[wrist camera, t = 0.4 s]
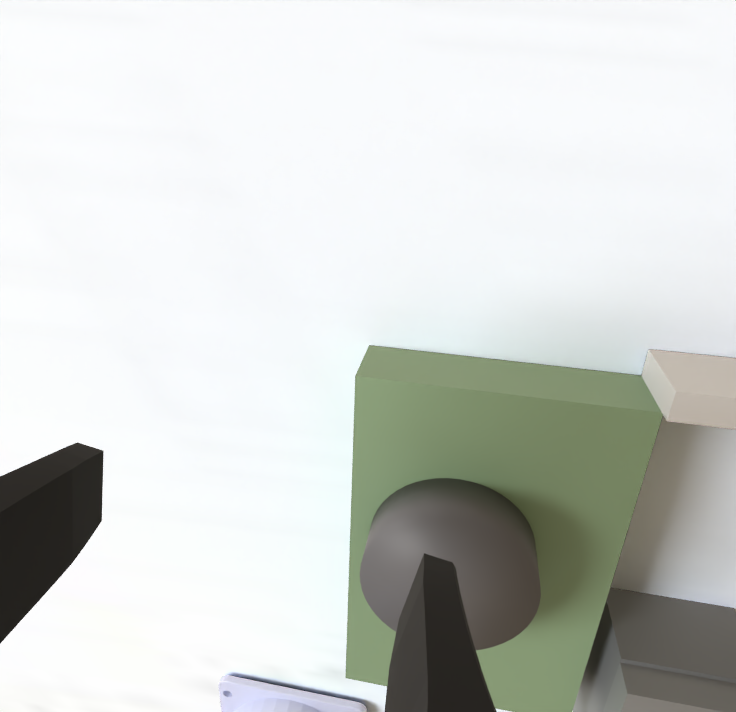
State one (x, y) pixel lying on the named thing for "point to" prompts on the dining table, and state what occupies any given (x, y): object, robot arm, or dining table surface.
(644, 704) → the grey stepped block
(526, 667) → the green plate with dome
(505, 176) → the dining table surface
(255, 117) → the dining table surface
